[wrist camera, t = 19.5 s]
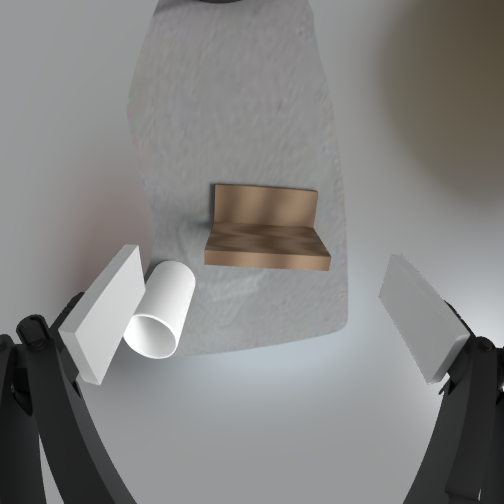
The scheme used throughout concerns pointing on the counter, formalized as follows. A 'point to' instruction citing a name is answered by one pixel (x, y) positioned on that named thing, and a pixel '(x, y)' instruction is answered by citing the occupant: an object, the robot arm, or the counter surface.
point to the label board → (265, 229)
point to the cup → (161, 311)
